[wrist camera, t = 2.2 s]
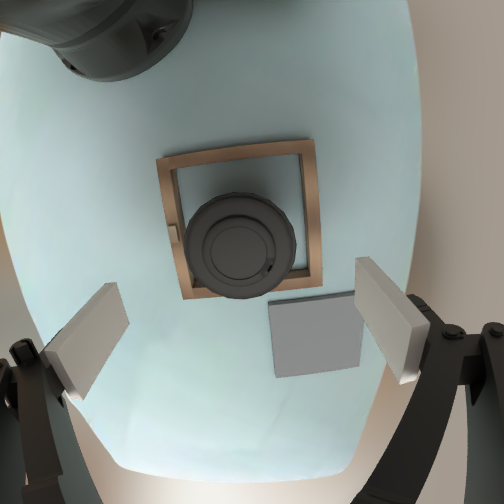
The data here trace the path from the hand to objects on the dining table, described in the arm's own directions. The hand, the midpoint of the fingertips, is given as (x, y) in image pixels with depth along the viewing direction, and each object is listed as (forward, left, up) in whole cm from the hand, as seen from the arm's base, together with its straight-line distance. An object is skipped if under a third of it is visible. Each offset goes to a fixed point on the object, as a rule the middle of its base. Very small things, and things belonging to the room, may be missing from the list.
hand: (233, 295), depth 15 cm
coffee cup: (0, 0, -15) cm, 15 cm away
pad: (+15, +7, -15) cm, 22 cm away
